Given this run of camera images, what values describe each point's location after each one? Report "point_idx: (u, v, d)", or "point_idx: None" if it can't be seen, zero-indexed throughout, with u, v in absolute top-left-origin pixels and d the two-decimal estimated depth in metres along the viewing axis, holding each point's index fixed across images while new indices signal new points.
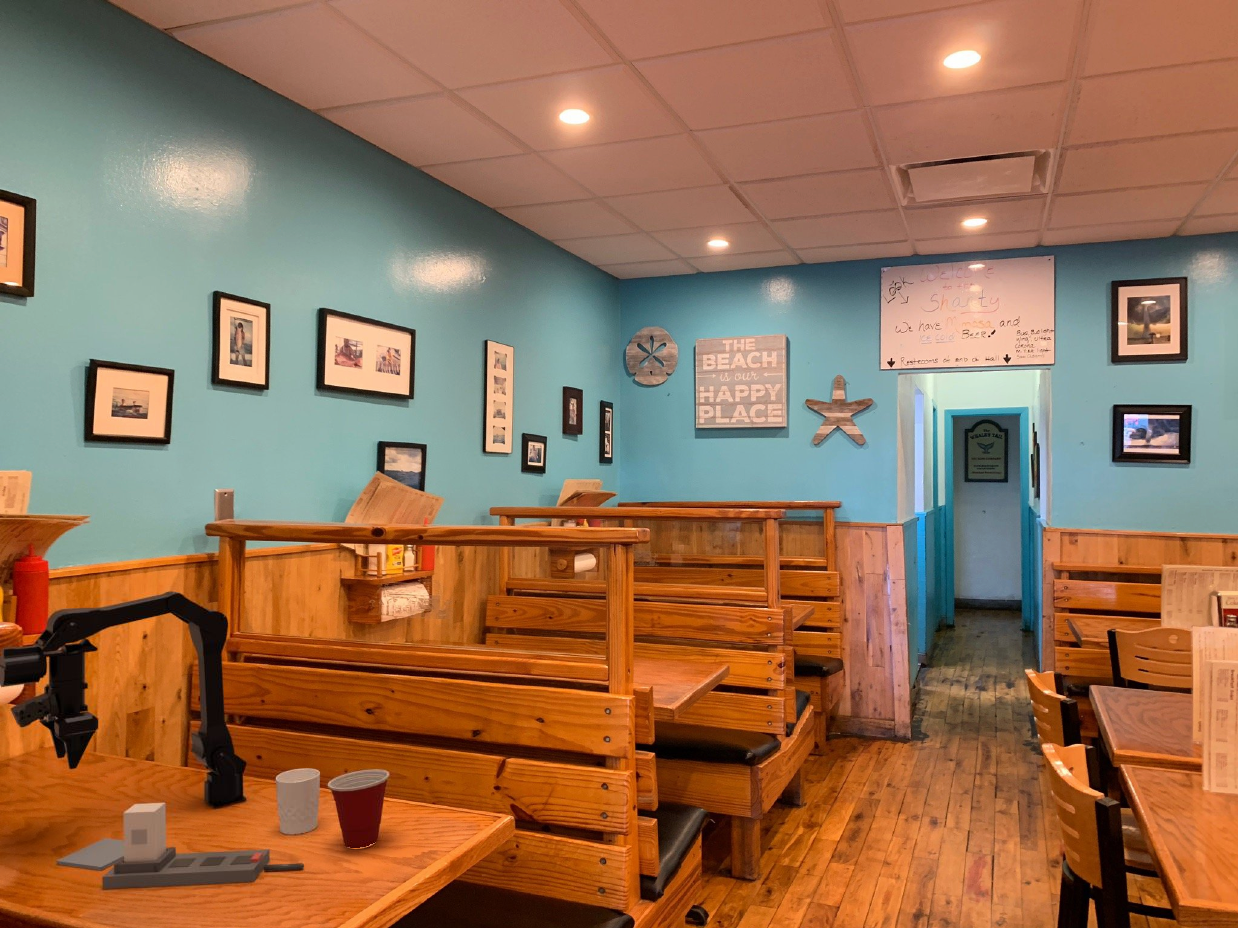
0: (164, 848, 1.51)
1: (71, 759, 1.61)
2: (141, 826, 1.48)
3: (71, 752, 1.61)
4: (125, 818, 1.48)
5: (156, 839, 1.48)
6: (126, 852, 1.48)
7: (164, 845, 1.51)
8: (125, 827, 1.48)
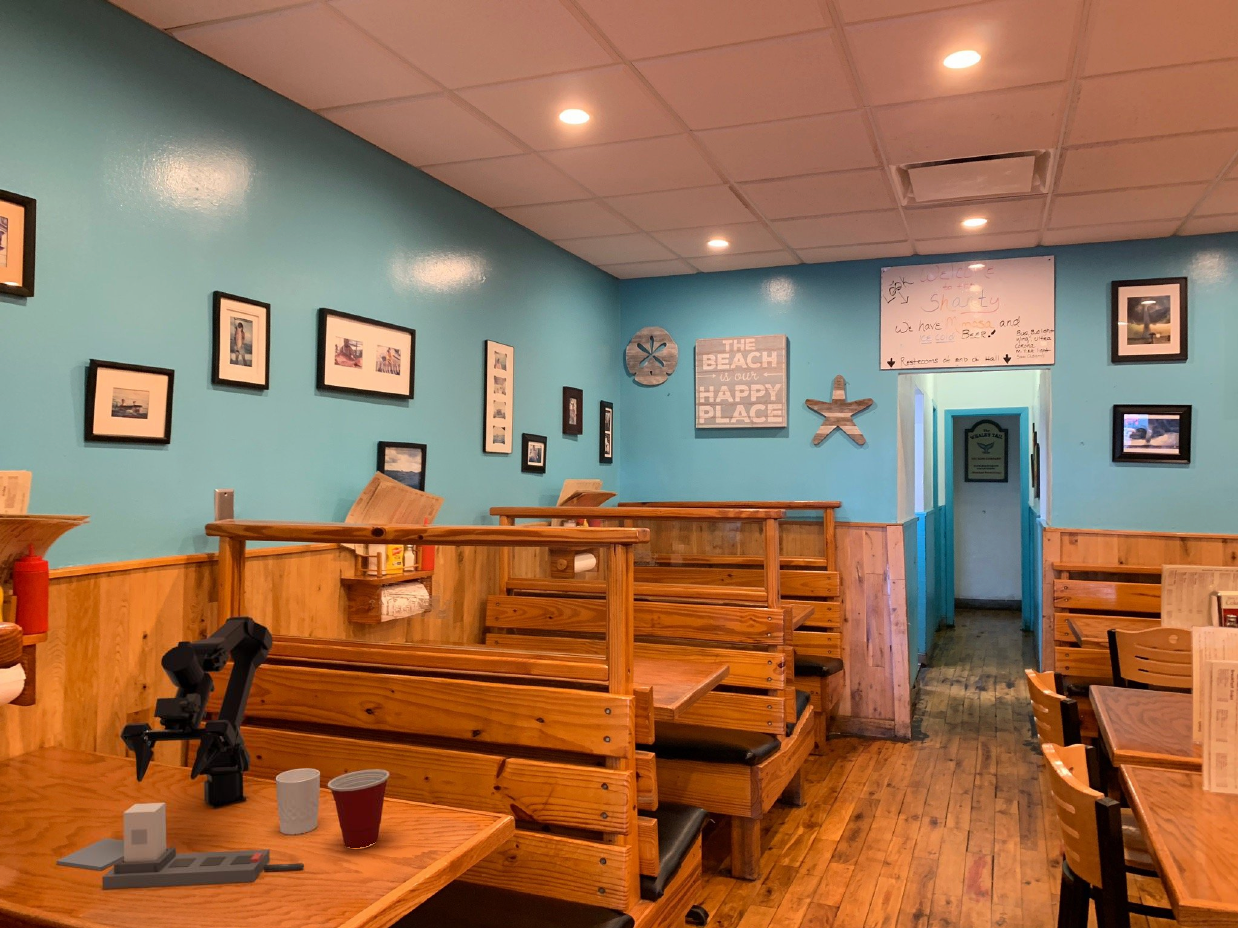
0: (164, 848, 1.51)
1: (198, 767, 1.59)
2: (141, 826, 1.48)
3: (202, 759, 1.60)
4: (125, 818, 1.48)
5: (156, 839, 1.48)
6: (126, 852, 1.48)
7: (164, 845, 1.51)
8: (125, 827, 1.48)
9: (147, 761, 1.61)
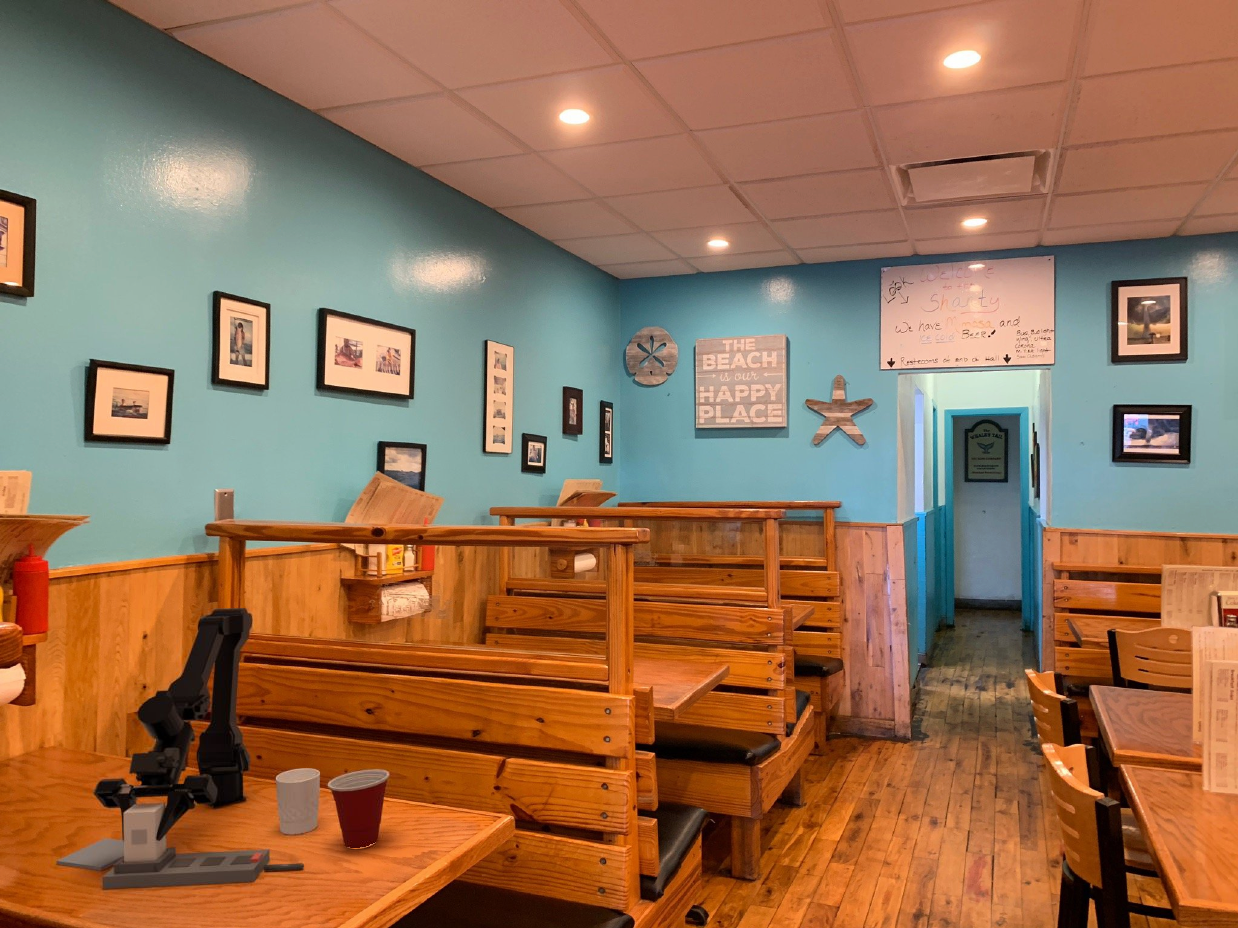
0: (164, 848, 1.51)
1: (165, 827, 1.50)
2: (141, 826, 1.48)
3: (169, 818, 1.51)
4: (125, 818, 1.48)
5: (156, 839, 1.48)
6: (126, 852, 1.48)
7: (164, 845, 1.51)
8: (125, 827, 1.48)
9: None
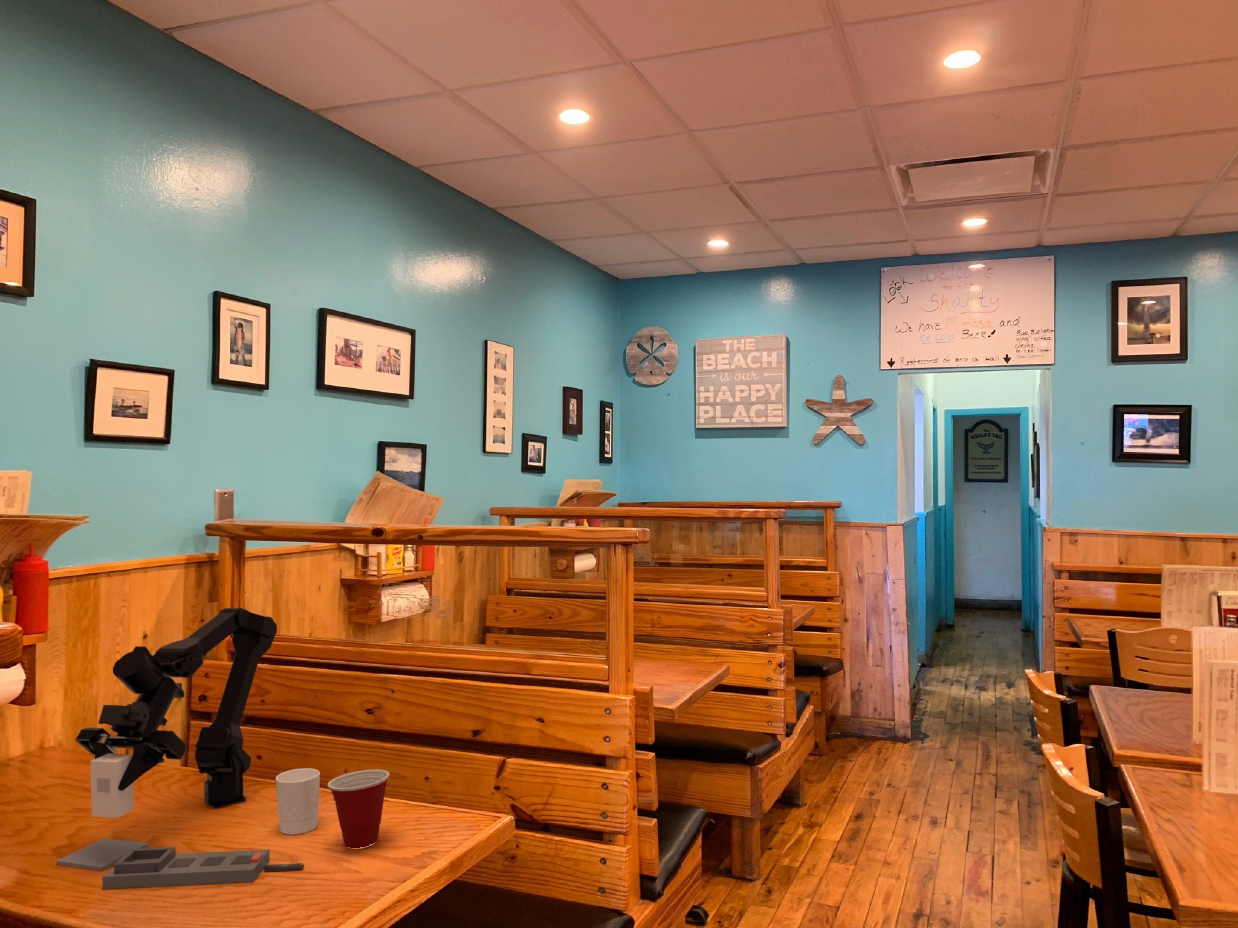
0: (130, 798, 1.56)
1: (128, 778, 1.54)
2: (104, 775, 1.53)
3: (133, 770, 1.55)
4: (92, 766, 1.53)
5: (117, 789, 1.53)
6: (93, 799, 1.53)
7: (131, 795, 1.56)
8: (92, 775, 1.53)
9: None
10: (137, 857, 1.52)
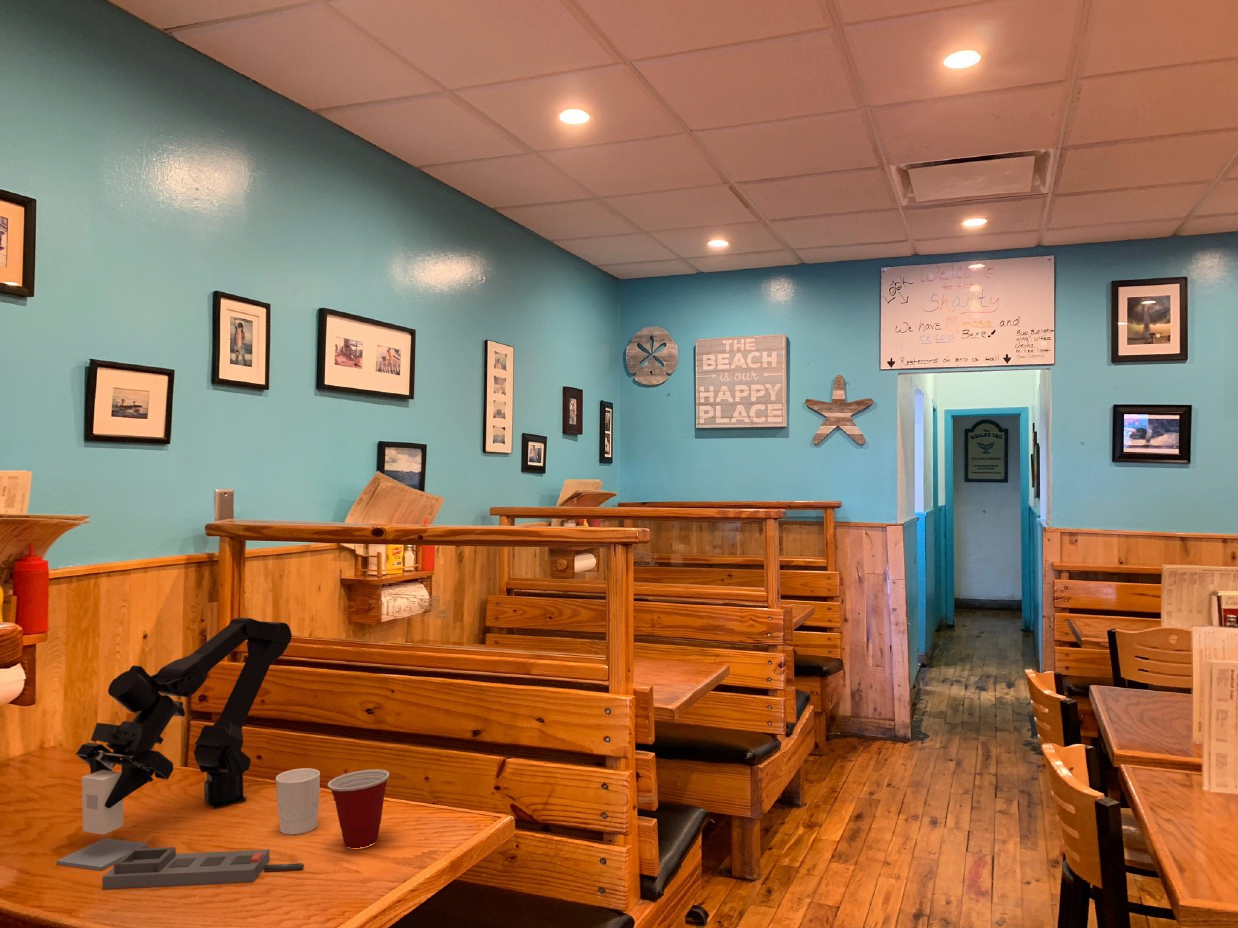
0: (119, 815, 1.59)
1: (114, 796, 1.57)
2: (93, 792, 1.57)
3: (121, 788, 1.58)
4: (83, 782, 1.58)
5: (104, 806, 1.56)
6: (84, 814, 1.58)
7: (120, 813, 1.59)
8: (83, 790, 1.58)
9: None
10: (137, 857, 1.52)
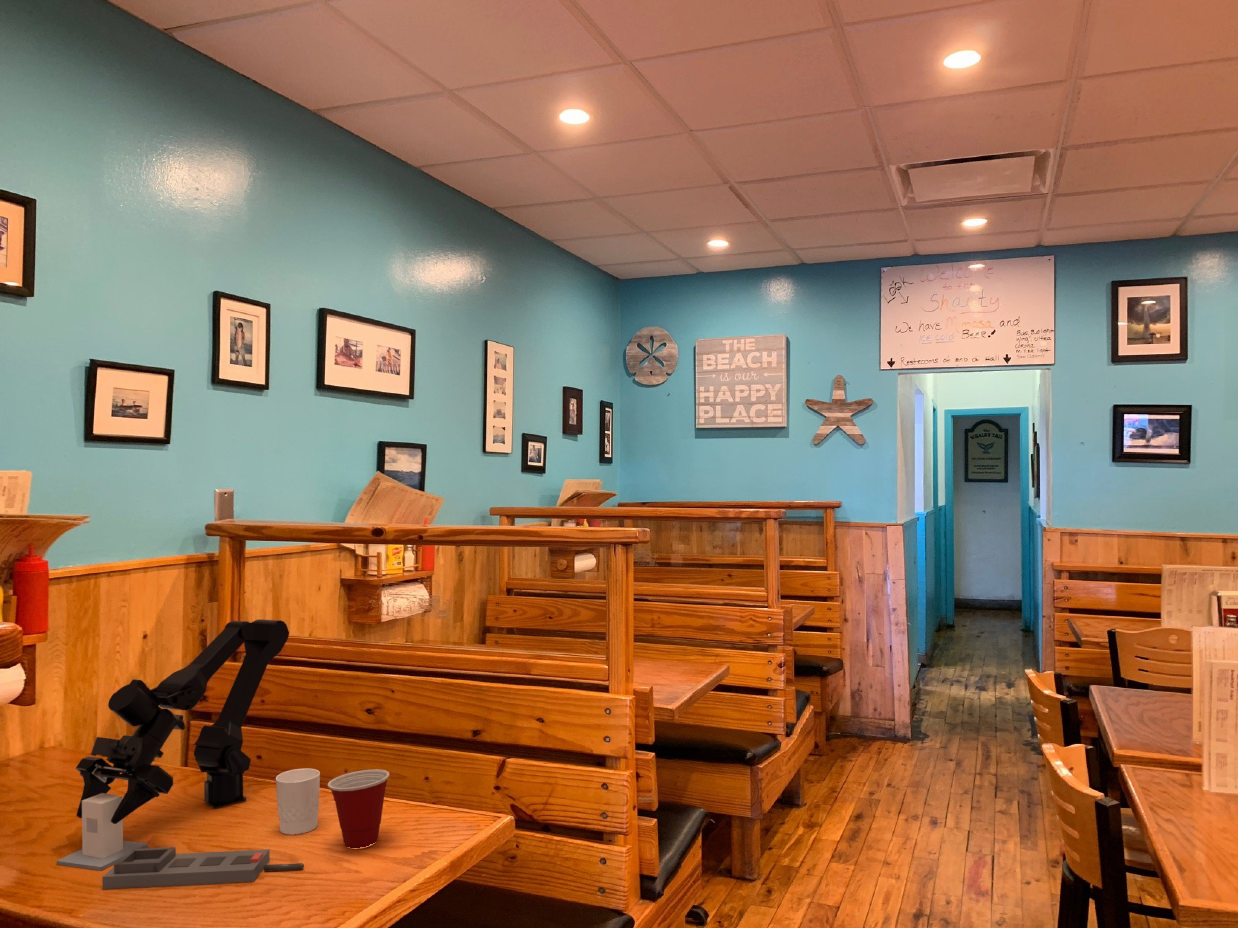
0: (119, 839, 1.59)
1: (121, 811, 1.57)
2: (93, 815, 1.57)
3: (127, 804, 1.57)
4: (83, 806, 1.58)
5: (104, 830, 1.56)
6: (83, 838, 1.58)
7: (119, 836, 1.59)
8: (83, 814, 1.58)
9: None
10: (137, 857, 1.52)
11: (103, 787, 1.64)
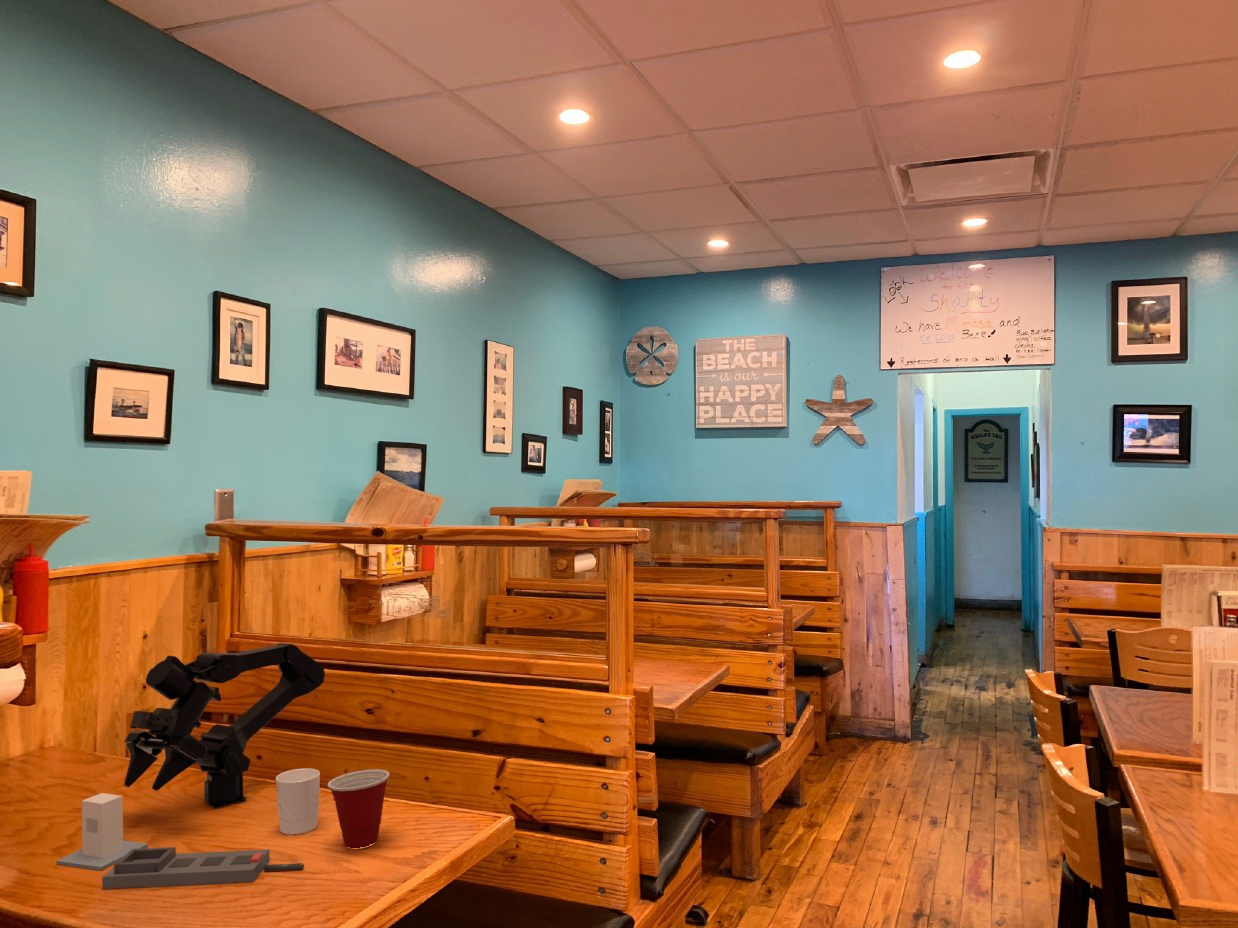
0: (119, 839, 1.59)
1: (160, 779, 1.66)
2: (93, 815, 1.57)
3: (165, 771, 1.66)
4: (83, 806, 1.58)
5: (104, 830, 1.56)
6: (83, 838, 1.58)
7: (119, 836, 1.59)
8: (83, 814, 1.58)
9: (143, 767, 1.73)
10: (137, 857, 1.52)
11: (149, 758, 1.75)
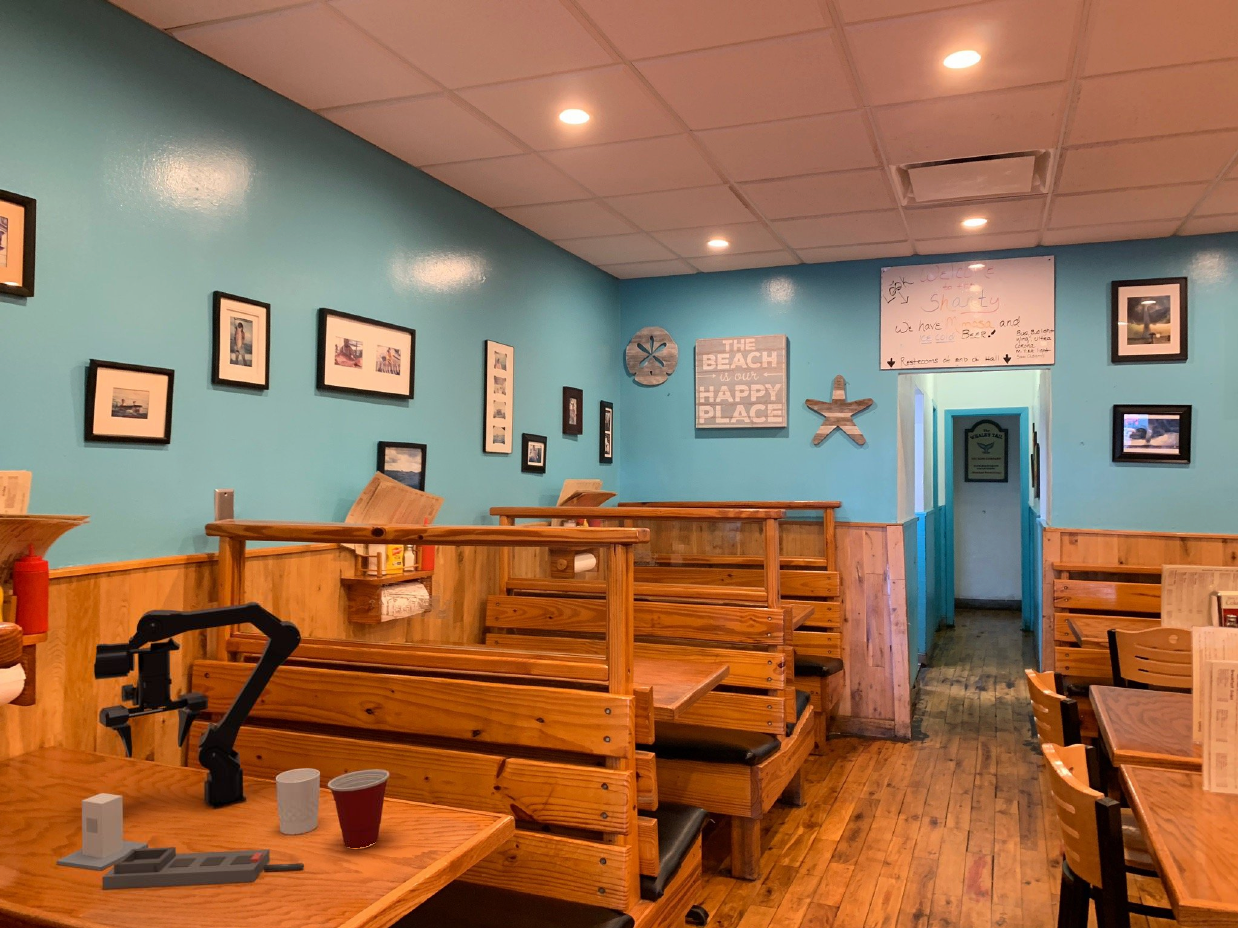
0: (119, 839, 1.59)
1: (125, 747, 1.76)
2: (93, 815, 1.57)
3: (123, 741, 1.76)
4: (83, 806, 1.58)
5: (104, 830, 1.56)
6: (83, 838, 1.58)
7: (119, 836, 1.59)
8: (83, 814, 1.58)
9: (182, 727, 1.82)
10: (137, 857, 1.52)
11: (183, 717, 1.82)
